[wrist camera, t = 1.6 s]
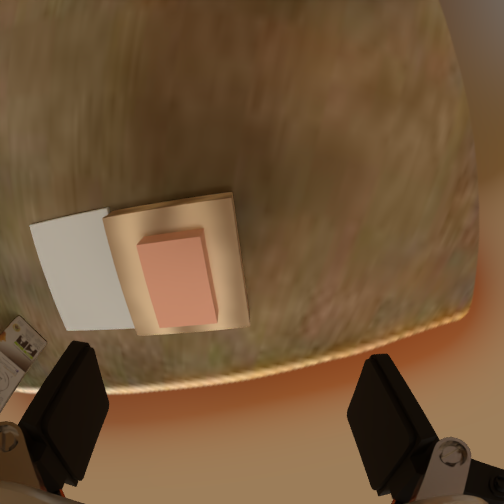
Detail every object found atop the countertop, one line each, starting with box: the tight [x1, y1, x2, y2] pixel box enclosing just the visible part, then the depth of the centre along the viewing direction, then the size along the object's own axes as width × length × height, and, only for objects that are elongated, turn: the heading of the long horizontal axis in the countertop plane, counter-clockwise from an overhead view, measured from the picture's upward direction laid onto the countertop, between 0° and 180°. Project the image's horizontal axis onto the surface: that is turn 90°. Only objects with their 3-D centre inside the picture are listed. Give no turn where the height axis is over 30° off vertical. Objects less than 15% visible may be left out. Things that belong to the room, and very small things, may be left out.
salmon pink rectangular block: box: [136, 228, 219, 328], centre depth 30 cm, size 6×9×2 cm, turn 7°
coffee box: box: [0, 316, 47, 413], centre depth 30 cm, size 9×6×16 cm
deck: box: [102, 192, 250, 336], centre depth 32 cm, size 13×14×3 cm
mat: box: [29, 207, 135, 331], centre depth 33 cm, size 12×15×1 cm
